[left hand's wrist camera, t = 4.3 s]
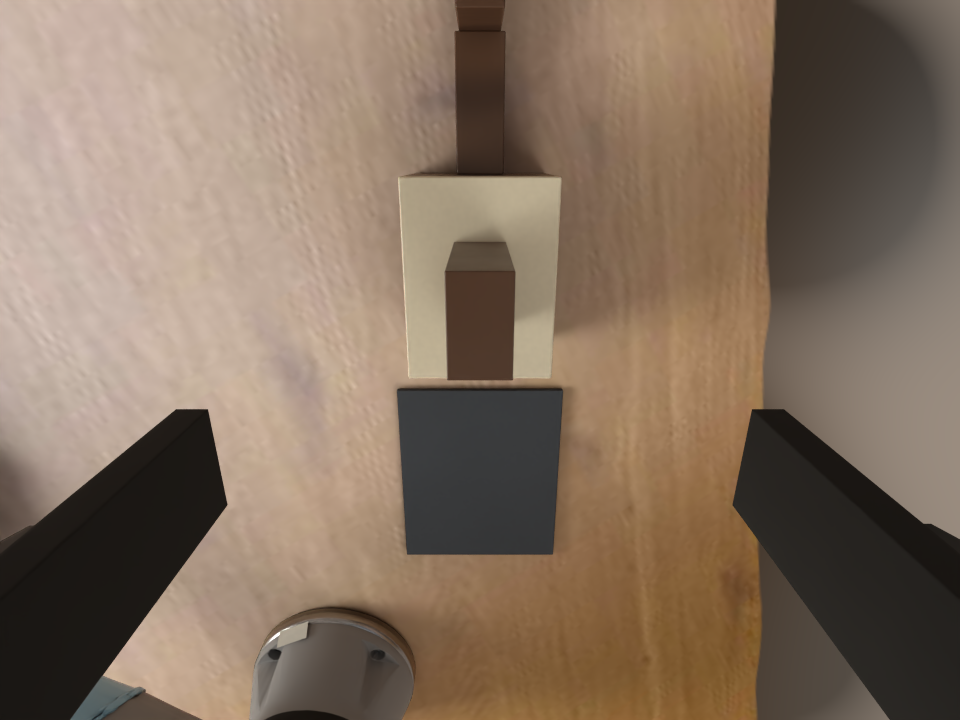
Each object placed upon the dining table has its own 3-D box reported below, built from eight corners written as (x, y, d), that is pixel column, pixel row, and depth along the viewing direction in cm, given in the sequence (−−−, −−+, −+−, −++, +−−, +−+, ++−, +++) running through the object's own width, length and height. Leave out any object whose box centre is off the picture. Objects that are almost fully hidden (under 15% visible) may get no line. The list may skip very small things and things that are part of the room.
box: (539, 340, 40) (550, 375, 33) (420, 340, 40) (409, 375, 33) (555, -39, 31) (574, -92, 25) (404, -39, 31) (385, -91, 25)
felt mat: (552, 551, 47) (552, 554, 47) (407, 551, 47) (407, 554, 47) (562, 388, 41) (563, 390, 41) (397, 388, 41) (396, 390, 41)
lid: (548, 369, 34) (574, 448, 25) (411, 370, 34) (385, 448, 25) (558, 176, 30) (593, 183, 21) (401, 175, 30) (366, 183, 21)
